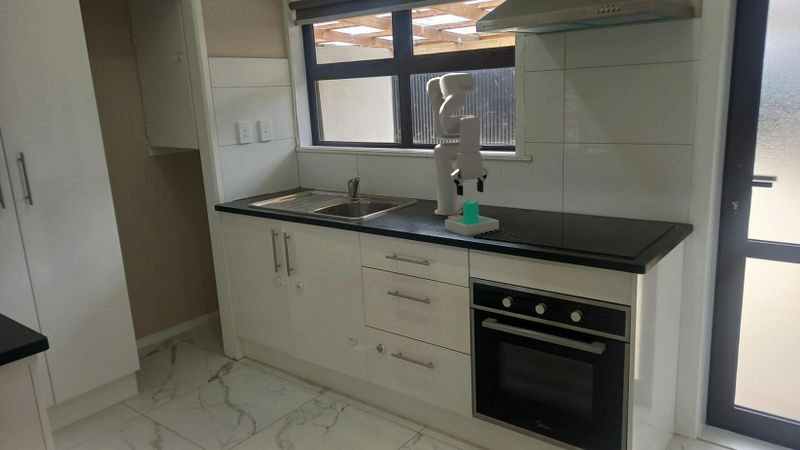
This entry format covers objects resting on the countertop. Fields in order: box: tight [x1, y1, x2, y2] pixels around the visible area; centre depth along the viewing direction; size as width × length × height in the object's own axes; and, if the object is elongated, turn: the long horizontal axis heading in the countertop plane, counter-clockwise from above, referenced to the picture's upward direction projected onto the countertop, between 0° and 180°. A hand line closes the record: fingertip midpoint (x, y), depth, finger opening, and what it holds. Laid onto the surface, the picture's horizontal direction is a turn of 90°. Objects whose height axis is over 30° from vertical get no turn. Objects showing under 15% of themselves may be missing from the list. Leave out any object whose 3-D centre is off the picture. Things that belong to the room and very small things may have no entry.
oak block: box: [447, 214, 463, 220], centre depth 239 cm, size 5×5×4 cm
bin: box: [444, 215, 500, 237], centre depth 229 cm, size 15×15×4 cm
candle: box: [462, 197, 480, 225], centre depth 228 cm, size 6×6×12 cm
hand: (470, 193), depth 227 cm, fingers open, 9 cm apart
